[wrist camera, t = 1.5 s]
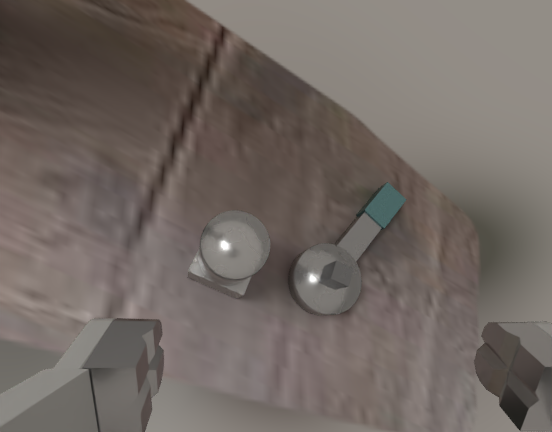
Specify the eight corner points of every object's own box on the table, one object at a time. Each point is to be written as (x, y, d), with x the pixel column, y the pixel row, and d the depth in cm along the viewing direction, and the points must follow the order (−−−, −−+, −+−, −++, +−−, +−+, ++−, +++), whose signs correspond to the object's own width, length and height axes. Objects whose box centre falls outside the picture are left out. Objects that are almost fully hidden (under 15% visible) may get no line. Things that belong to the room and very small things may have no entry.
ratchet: (324, 330, 34) (349, 330, 29) (274, 282, 34) (290, 274, 29) (408, 216, 41) (440, 201, 36) (366, 177, 41) (392, 156, 36)
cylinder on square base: (186, 277, 32) (187, 260, 24) (210, 229, 34) (219, 198, 26) (237, 299, 33) (255, 290, 24) (257, 251, 35) (280, 227, 26)
